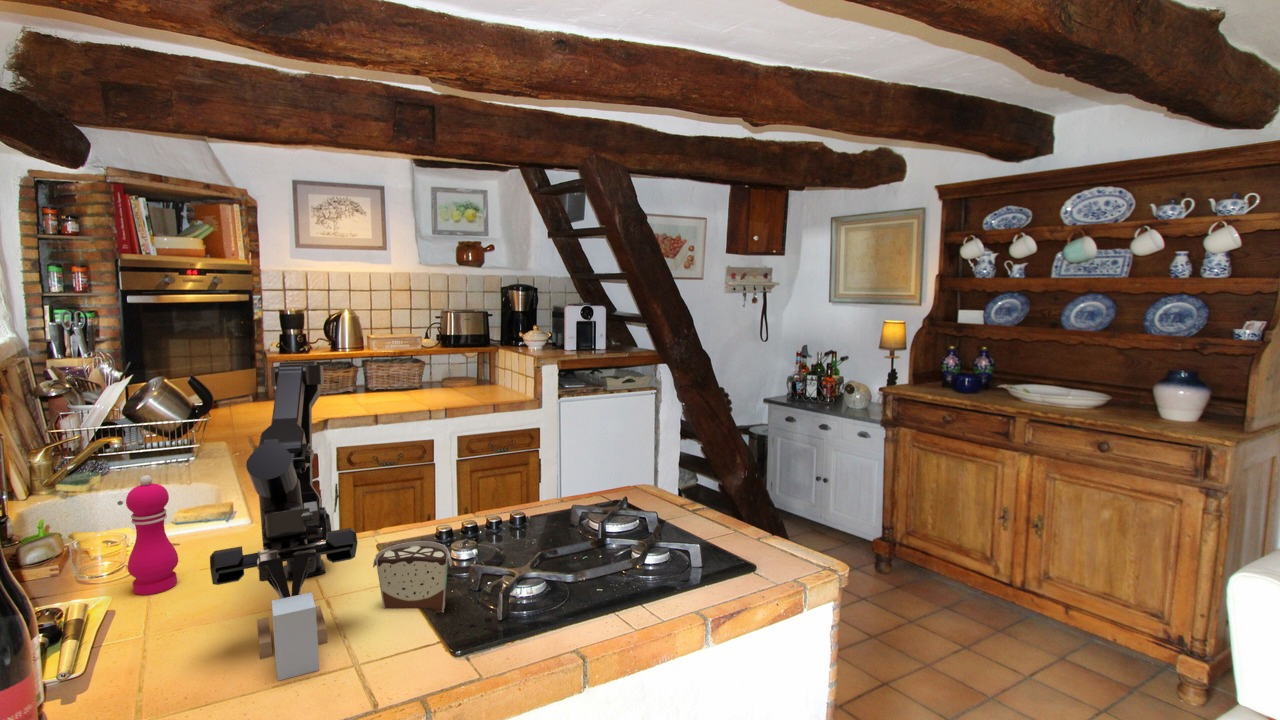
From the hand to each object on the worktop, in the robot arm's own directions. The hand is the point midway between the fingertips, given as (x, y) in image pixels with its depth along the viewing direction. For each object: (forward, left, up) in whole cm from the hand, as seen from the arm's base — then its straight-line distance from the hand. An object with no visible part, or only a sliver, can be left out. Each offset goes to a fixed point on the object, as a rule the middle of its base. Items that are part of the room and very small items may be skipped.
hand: (292, 611), depth 97 cm
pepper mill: (-39, -19, -8) cm, 44 cm away
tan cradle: (-2, 0, -8) cm, 8 cm away
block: (+3, 0, -7) cm, 7 cm away
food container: (-9, +19, -8) cm, 22 cm away
